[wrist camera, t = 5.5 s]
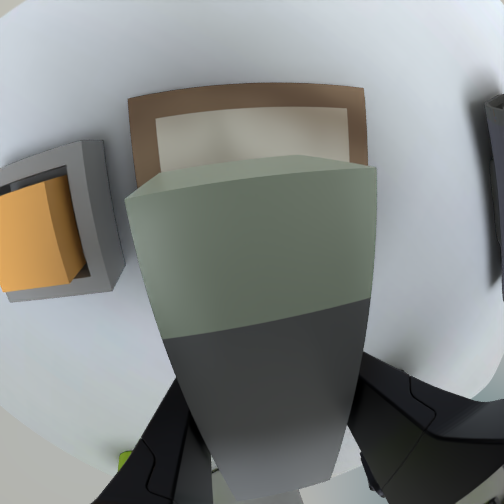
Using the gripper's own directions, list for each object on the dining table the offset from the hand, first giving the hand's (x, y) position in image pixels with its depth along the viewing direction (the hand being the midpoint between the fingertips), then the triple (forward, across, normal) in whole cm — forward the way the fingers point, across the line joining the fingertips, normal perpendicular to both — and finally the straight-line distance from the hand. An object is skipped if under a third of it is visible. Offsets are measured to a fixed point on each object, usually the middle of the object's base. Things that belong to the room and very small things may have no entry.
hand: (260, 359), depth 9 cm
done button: (+8, +11, -4) cm, 14 cm away
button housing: (+10, +11, -4) cm, 15 cm away
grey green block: (+1, 0, 0) cm, 1 cm away
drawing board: (+10, -2, -2) cm, 11 cm away
